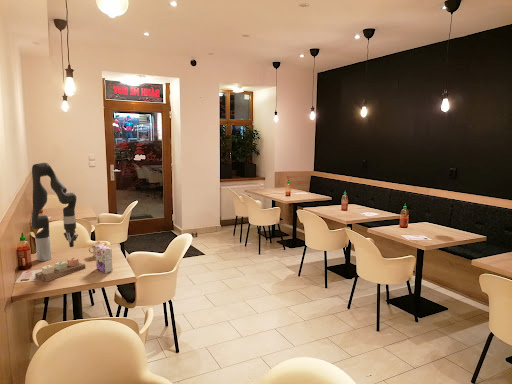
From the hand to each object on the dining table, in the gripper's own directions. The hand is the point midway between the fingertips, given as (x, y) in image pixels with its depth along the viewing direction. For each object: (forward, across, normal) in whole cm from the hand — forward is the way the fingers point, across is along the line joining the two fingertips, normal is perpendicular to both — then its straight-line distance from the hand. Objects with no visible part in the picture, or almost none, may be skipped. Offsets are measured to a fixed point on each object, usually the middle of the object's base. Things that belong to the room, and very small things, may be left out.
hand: (71, 246), depth 264 cm
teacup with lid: (+16, -11, +28) cm, 34 cm away
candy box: (+16, +21, +9) cm, 28 cm away
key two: (+13, 0, -9) cm, 16 cm away
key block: (+16, 0, -9) cm, 18 cm away
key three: (+13, 0, 0) cm, 13 cm away
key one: (+13, 0, -18) cm, 22 cm away
